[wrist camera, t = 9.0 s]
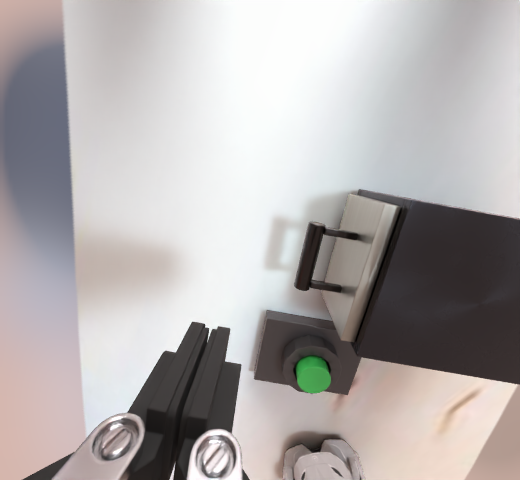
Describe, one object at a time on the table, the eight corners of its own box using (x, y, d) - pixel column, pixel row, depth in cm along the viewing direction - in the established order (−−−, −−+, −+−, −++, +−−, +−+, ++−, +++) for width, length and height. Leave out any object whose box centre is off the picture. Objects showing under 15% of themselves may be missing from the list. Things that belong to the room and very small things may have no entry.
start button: (292, 377, 28) (294, 390, 26) (299, 352, 27) (301, 364, 25) (322, 382, 28) (326, 396, 26) (330, 357, 27) (334, 370, 25)
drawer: (284, 287, 27) (290, 331, 20) (307, 186, 24) (325, 192, 16) (436, 314, 27) (499, 367, 20) (479, 217, 24) (573, 238, 17)
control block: (254, 368, 32) (253, 392, 28) (267, 309, 29) (266, 328, 26) (343, 383, 32) (352, 409, 28) (363, 326, 29) (376, 346, 26)
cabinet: (327, 296, 28) (356, 356, 19) (358, 188, 25) (412, 199, 16) (448, 317, 28) (534, 387, 19) (495, 214, 25) (628, 239, 16)
